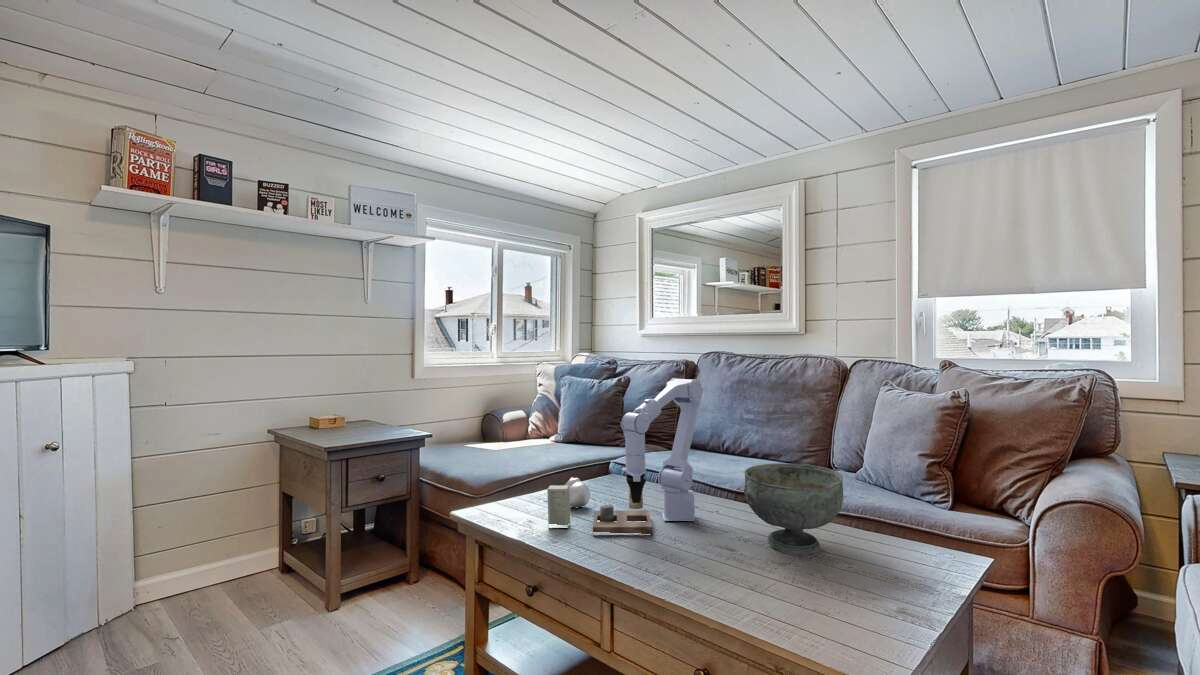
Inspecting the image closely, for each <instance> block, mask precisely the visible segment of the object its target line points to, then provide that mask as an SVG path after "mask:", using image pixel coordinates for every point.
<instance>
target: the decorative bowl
mask: <svg viewBox="0 0 1200 675" xmlns="http://www.w3.org/2000/svg"><path fill="white" fill-rule="evenodd" d="M743 472H744V488H743V493H744V497H745V501H746V502H747V505H748V506H749V507H750V509H751V511H752V512H754V514H755V515H756V516H757V517H758V518H759V519H761V521H763V522H765V523H766V524H767V525H771V526H772V527H779V528H782V529H778V530H774V531H772V532H771V533H769V534H768V536H767V543H768V544H769V545H770V547H772V548H773V549H776V550H777V551H779V552H782V553H786V554H789V555H800V556H801V555H803V556H806V555H812V554H815V553H817V552H818V551H820V549H821V545H820V542H819V540H818V539H817V538H816V537H815V536H814V535H813V534H810V533H809V532H806V531H804V530H813V529H818V528H821V527H824V526H826V525H827V524H830V523H831V522H832V521H834V519H835V518H836V517H837V516H838V514H839V513H840V511H841V510H842V505H843V502H844V500H843V499H844V485H843V484H844V482H843V481H844V480H843V479H844V478H843V474H841V473H840V472H839V471H837V470H835V469H831V468H828V467H824V466H818V465H813V464H812V465H811V464H805V463H801V464H800V463H789V462H788V463H784V462H782V463H780V462H779V463H763V464H756V465H752V466H749V467H747V468H746V469H744V471H743Z"/></svg>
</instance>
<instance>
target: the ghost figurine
mask: <svg viewBox="0 0 1200 675" xmlns="http://www.w3.org/2000/svg"><path fill="white" fill-rule="evenodd" d="M564 485H569V497H570V507H571V506H572V507H582V506H584V507H585V506H586V505H588V503H589V501H590V499H591V490H590V488H589V486H588V485H587V484H586V483H585V482H583V481H582V480H581V479H580V478H579V477H571V478H569V479H568V481H567V482H565V484H564ZM572 507H571V508H572ZM582 508H583V507H582Z"/></svg>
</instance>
